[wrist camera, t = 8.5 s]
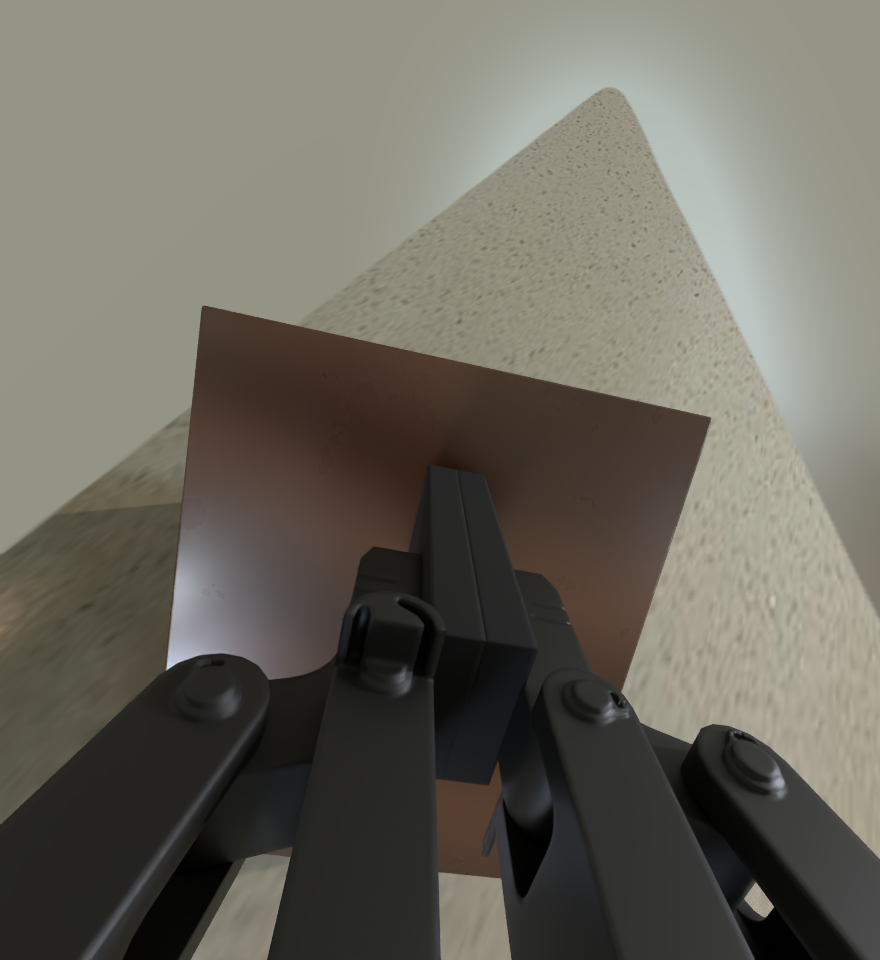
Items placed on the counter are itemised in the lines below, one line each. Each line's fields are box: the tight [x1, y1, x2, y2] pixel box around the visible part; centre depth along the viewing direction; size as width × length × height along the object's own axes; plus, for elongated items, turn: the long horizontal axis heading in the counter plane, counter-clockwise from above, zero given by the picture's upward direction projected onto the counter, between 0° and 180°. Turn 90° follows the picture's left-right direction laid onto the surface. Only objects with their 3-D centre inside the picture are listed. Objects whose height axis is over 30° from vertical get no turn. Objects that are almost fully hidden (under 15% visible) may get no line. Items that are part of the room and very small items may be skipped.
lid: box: [165, 306, 712, 878], centre depth 15 cm, size 16×14×1 cm
